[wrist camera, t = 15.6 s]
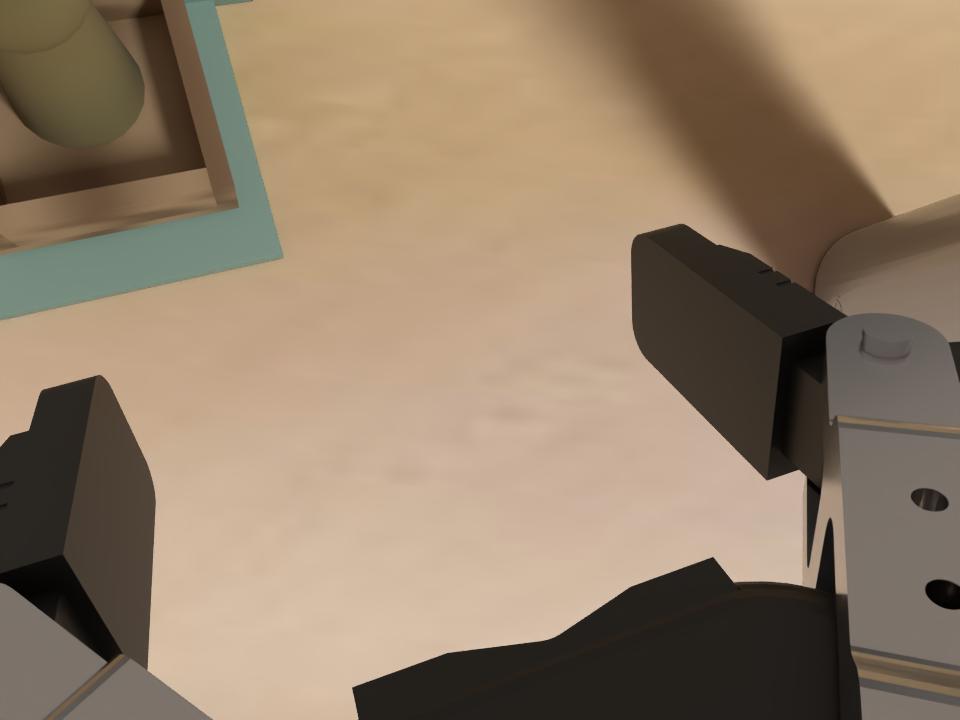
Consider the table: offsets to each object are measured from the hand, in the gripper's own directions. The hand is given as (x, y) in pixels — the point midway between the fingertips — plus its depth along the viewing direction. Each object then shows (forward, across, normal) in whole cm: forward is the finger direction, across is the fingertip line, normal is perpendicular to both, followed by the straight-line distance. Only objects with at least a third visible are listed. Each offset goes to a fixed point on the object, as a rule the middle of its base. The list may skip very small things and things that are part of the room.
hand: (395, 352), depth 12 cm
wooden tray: (+33, +8, +3) cm, 34 cm away
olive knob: (+33, +8, +1) cm, 34 cm away
